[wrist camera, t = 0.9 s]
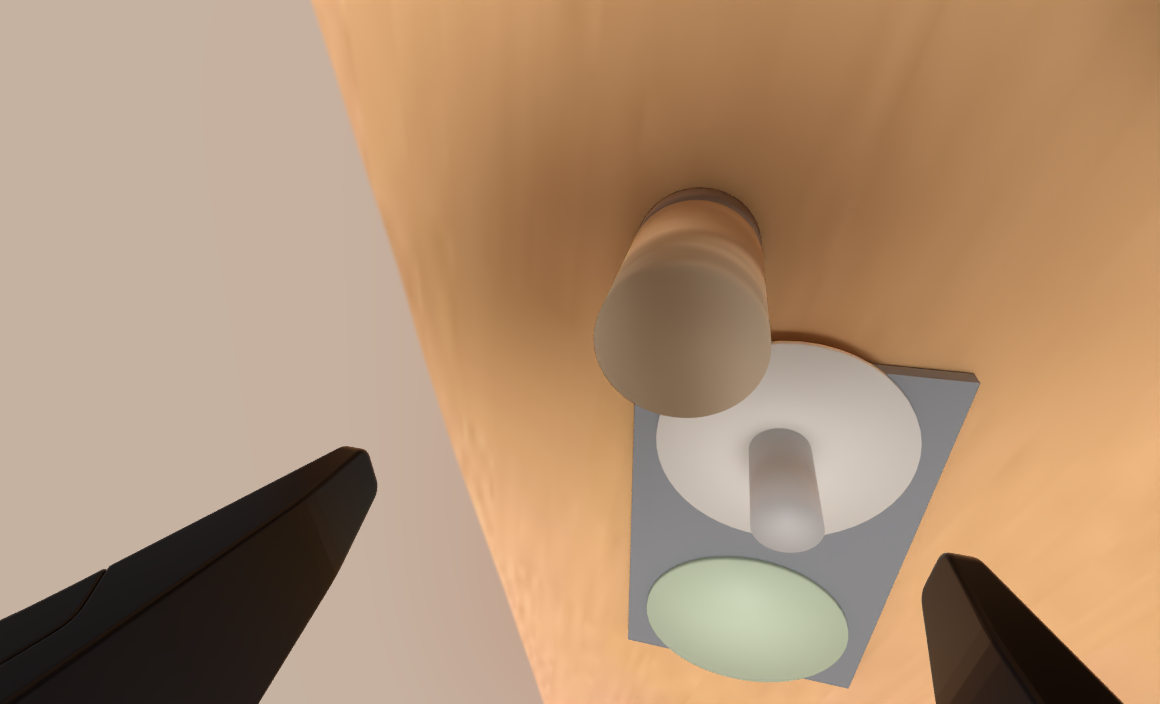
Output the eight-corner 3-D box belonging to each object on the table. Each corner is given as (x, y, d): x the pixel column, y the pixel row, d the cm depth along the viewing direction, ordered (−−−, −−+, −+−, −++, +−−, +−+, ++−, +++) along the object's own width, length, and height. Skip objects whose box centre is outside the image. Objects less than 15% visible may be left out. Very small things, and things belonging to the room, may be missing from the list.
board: (984, 349, 19) (1051, 441, 15) (842, 687, 30) (858, 790, 26) (638, 319, 21) (615, 389, 17) (629, 639, 33) (614, 727, 29)
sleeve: (770, 189, 18) (785, 272, 12) (752, 309, 20) (757, 428, 14) (637, 185, 19) (592, 260, 13) (634, 300, 21) (594, 407, 15)
